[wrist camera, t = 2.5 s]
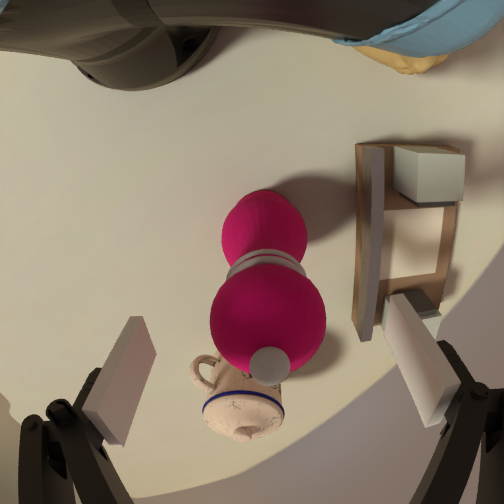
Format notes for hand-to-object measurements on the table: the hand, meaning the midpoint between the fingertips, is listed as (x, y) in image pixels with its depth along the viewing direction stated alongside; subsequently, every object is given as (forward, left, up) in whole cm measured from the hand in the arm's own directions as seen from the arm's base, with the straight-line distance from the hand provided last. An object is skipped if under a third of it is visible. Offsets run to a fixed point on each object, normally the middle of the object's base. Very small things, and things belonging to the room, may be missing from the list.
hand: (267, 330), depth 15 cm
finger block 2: (+10, +15, -14) cm, 23 cm away
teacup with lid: (+18, -5, -16) cm, 25 cm away
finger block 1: (-5, +15, -14) cm, 21 cm away
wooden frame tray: (+3, +15, -16) cm, 22 cm away
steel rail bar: (+3, +10, -14) cm, 18 cm away
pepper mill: (0, 0, -16) cm, 16 cm away
